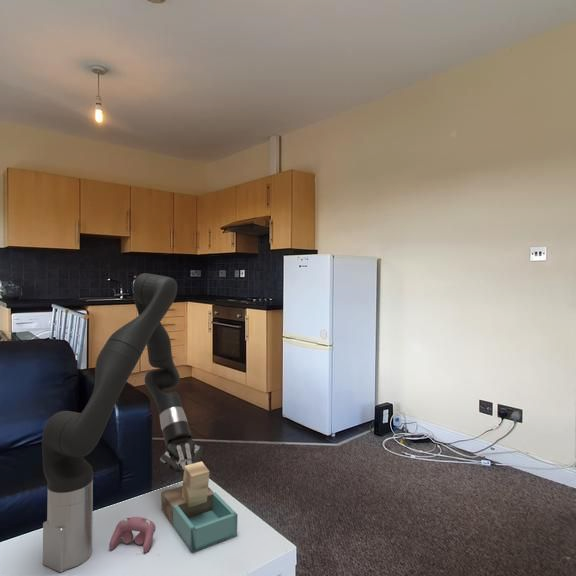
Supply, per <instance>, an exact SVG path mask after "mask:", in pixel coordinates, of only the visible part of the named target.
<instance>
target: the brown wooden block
mask: <svg viewBox="0 0 576 576" xmlns="http://www.w3.org/2000/svg"><path fill="white" fill-rule="evenodd" d="M182 489H183V485H180V486H177V487H173V488H170V489H166V490H164V491H161V498H160V500H161V501H160V503H161V504H160V506H161V507H160V509H161V511H162V513H163V515H165V518H167V519H168V521H169V523H170V524H171V526H172V527H173V505H176V504H177V505H178V506H179V508H180V509H181V510H182V511H183V513H184V514H185V515H186V516H187V518H190V517H193V516H196V515H199V514H202V513H205V512H208V511H211V510H212V493H215V492H214V491H213V490H212V489H211V488H210V487H209V486H208V493H207V502H205V503H202V504H199V505H195V506H192V507H188V505H187V504H186V502H185V500H184V499H183V497H182Z"/></svg>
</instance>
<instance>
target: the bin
mask: <svg viewBox="0 0 576 576" xmlns="http://www.w3.org/2000/svg"><path fill="white" fill-rule="evenodd" d="M172 527H173V529H174V530H175V532H176V533H177V534H178V536H179V538H180V539H181V540H182V542H183V543H184V545H185V546H186V547H187V548H188V550H189V552H190V553H191V554H194V553H196V552H199V551H202V550H204V549H207V548H209V547H212V546H215V545H217V544H219V543H223V542H225V541H227V540H230V539H233V538H235V537H237V536H238V513H237V512H236V511H235V510H234V509H233V508H232V507H231V506H230V505H229V504H228V503H227V502H226V501H225V500H224V499H223V498H222V497H221V496H220V495H219V494H218V493H217V492H216V491H215V492H214V493H212V510H211V511H208V512H205V513H202V514H199V515H196V516H193V517H190V518H187V516H186V515H185V514H184V513H183V511H182V510H181V509H180V508H179V506H178V505H177V504H176V505H173V526H172Z"/></svg>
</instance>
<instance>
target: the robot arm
mask: <svg viewBox="0 0 576 576" xmlns="http://www.w3.org/2000/svg"><path fill="white" fill-rule="evenodd" d="M132 284H133V285H132V296H133V301H134V304H135V305H134V306H135V307H136V310H137V313H138V314H137V315H138V316H137V317H135V318H133V319H132V320H131V321H129V322H127V323H125V324H124V325H122V326H121V327H119V328H118V329H117V330H115V331H114V332H113V333H112V334H111V335H110V336H109V338H108V339H107V340H106V343H105V344H104V346H103V347H102V348H101V350H100V351H99V353H98V356H97V357H96V361H95V370H94V387H93V392H92V393H91V396H90V398H89V400H88V401H87V403H86V404H85V407H84V409H82V411H81V412H78V411H77V412H76V411H70V410H61V411H58V412H56V413H54V414H53V415H52V416H51V417H50V418H49V419H48V420H47V421H46V424H45V425H44V428H43V432H42V437H41V438H42V439H41V451H42V454H41V455H42V456H41V457H42V470H43V474H44V477H45V479H46V482H47V503H46V504H47V509H46V510H47V511H46V513H47V514H46V515H47V516H46V518H47V519H46V521H44V522H43V523H42V565H44V566H46V567H48V568H50V569H51V570H55V571H56V572H59V573H63V572H64V571H66V570H69V569H72V568H75V567H77V566H80V565H82V564H83V563H84V562H86V561H88V559H89V558H90V557H91V555H92V553H93V515H94V514H93V511H94V510H93V508H94V506H93V505H94V503H93V502H94V501H93V500H94V497H93V495H94V492H93V491H94V490H93V489H94V487H93V485H94V475H93V473H94V470H93V466H92V464H90V463H89V462H88V461H87V460H86V458H85V457H86V456H88V455H89V454H91V452H92V451H94V449H95V448H96V447H97V445H98V444H99V442H100V439H101V438H102V435H103V434H104V431H105V428H106V427H107V424H108V421H109V419H110V417H111V415H112V412H113V410H114V408H115V405H116V403H117V402H118V399H119V397H120V395H121V393H122V391H123V389H124V387H125V385H126V383H127V382H128V379H129V378H130V376H131V374H132V372H133V371H134V370H135V368H136V366H137V363H138V362H139V360H140V358H141V356H142V354H143V352H144V350H145V348H146V347H147V348H146V349H147V350H146V351H147V358H148V363H149V365H150V366H151V367H153V368H156V369H152V370H149V371H147V373H146V374H145V377H144V384H145V387H146V389H147V391H148V392H149V393H150V395H151V397H152V398H153V399H154V402H155V404H156V407H157V411H158V415H159V422H160V429H161V431H162V435H163V439H164V440H163V441H164V443H165V449H164V450H165V453H163V454H161V457H160V458H159V461H160V463H162V464H163V465H165V467H166V468H168V469H169V470H171V471H172V472H173V473H174V474H175V473H180V474H181V478H182V479H183V477H184V466H186V465H190V464H194V463H197V462H200V458H201V456H202V453H203V450H204V445H197V444H196V441H194V440H193V438H192V433H191V429H190V426H189V423H188V419H187V416H186V413H185V411H184V408H183V405H182V402H181V398H180V395H179V394H178V392H176V391H166V390H171V389H175V388H176V387H177V386H178V385H179V383H180V381H181V379H180V378H181V377H180V373H179V371H178V369H177V367H176V365H175V362H174V359H173V355H172V344H171V343H172V341H171V339H170V335H169V333H168V331H167V330H166V329H165V326H163V324H162V322H161V321H162V320H163V318H164V317H165V316H166V314H167V312H168V311H169V310H170V309H171V306H172V305H173V303H174V301H175V299H176V296H177V292H178V284H177V280H175V278H172V277H170V276H165V275H159V274H153V273H148V272H147V273H146V272H144V273H141V274H139V275H138V276H137V277H136V278H135V280H134V282H133V283H132ZM193 452H194V454H195V455H194V457H193V460H192V455H193Z"/></svg>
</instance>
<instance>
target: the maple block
mask: <svg viewBox="0 0 576 576" xmlns="http://www.w3.org/2000/svg"><path fill="white" fill-rule="evenodd" d="M209 479H210V470H209V468H207V466H206V465H205V463H204V462H203V461H198V462H197V463H194V464H190V465H186V466H184V477H183V478H182V486H183V489H182V497H183V499H184V500H185V502H186V504H187V505H188V507H192V506H195V505H199V504H202V503H205V502H207V493H208V487H209Z"/></svg>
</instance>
